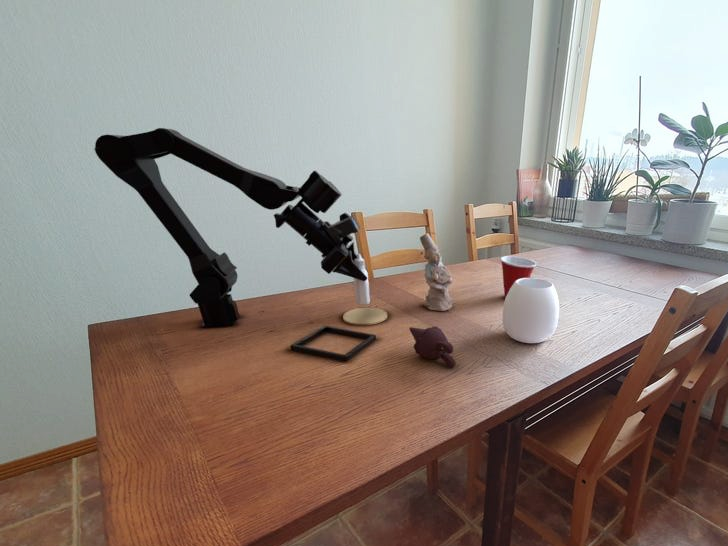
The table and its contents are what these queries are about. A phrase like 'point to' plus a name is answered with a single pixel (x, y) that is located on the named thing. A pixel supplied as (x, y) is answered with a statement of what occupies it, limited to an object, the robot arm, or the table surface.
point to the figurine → (436, 277)
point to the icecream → (433, 344)
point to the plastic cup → (515, 270)
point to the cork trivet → (365, 316)
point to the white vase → (531, 310)
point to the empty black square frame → (300, 348)
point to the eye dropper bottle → (361, 284)
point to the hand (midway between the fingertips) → (366, 276)
